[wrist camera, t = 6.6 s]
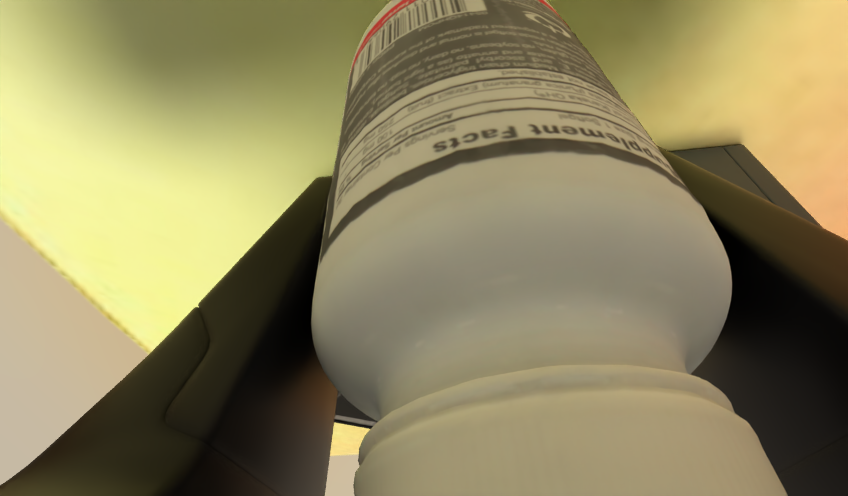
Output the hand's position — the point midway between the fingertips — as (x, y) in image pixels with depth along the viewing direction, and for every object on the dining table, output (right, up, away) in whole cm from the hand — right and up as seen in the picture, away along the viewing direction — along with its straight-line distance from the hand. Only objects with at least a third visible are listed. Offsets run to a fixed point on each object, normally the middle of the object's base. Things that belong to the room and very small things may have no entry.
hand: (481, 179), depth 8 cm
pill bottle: (0, +3, +3) cm, 4 cm away
